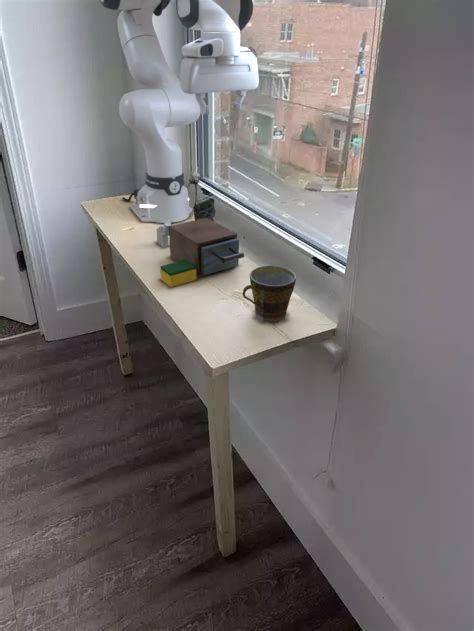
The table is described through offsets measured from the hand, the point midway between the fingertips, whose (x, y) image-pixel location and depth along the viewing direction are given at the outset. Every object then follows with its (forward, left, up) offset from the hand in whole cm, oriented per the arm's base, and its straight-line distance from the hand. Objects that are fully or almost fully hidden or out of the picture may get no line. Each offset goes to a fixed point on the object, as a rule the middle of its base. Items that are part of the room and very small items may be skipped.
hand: (221, 112), depth 123 cm
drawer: (+5, -6, -37) cm, 38 cm away
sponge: (+6, -17, -38) cm, 42 cm away
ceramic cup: (+33, -11, -38) cm, 52 cm away
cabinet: (0, -6, -38) cm, 38 cm away
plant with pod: (-17, +3, -38) cm, 41 cm away
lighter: (-15, -10, -38) cm, 42 cm away
